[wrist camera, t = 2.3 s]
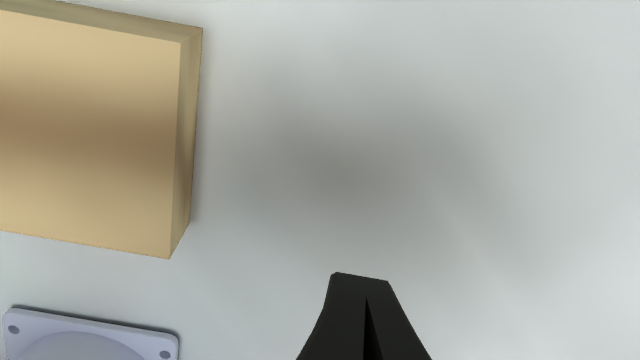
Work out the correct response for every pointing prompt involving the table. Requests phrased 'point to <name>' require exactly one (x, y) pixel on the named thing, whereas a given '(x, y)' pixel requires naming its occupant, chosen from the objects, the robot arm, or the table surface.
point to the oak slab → (97, 125)
